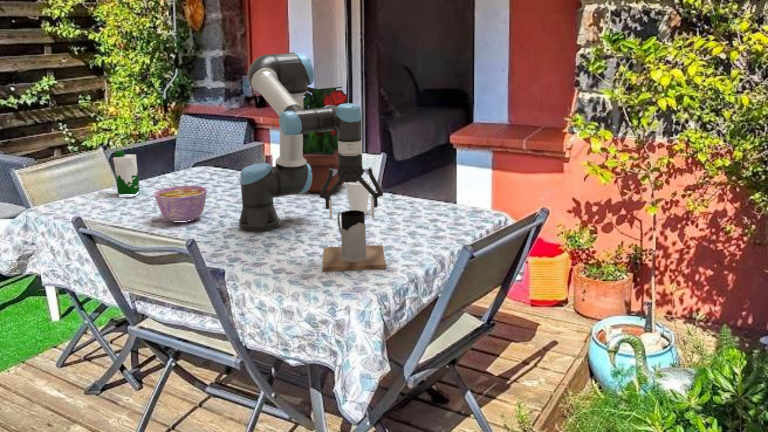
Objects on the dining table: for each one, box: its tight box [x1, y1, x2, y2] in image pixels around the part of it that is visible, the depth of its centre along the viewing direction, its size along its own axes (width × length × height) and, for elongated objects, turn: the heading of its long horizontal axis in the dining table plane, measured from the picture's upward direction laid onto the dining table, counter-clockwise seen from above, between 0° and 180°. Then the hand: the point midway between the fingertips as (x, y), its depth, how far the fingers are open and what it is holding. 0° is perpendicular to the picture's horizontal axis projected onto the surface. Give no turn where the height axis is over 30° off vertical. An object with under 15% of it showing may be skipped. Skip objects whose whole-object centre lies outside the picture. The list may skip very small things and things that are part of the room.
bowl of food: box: [153, 185, 208, 222], centre depth 305 cm, size 20×20×12 cm
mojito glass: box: [112, 150, 140, 195], centre depth 343 cm, size 9×9×20 cm
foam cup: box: [345, 178, 371, 215], centre depth 308 cm, size 10×9×13 cm
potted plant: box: [303, 86, 349, 195], centre depth 341 cm, size 22×22×45 cm
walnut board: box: [322, 244, 387, 273], centre depth 256 cm, size 20×20×2 cm
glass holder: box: [336, 209, 368, 262], centre depth 253 cm, size 9×14×15 cm, turn 32°
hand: (351, 217), depth 252 cm, fingers open, 13 cm apart
